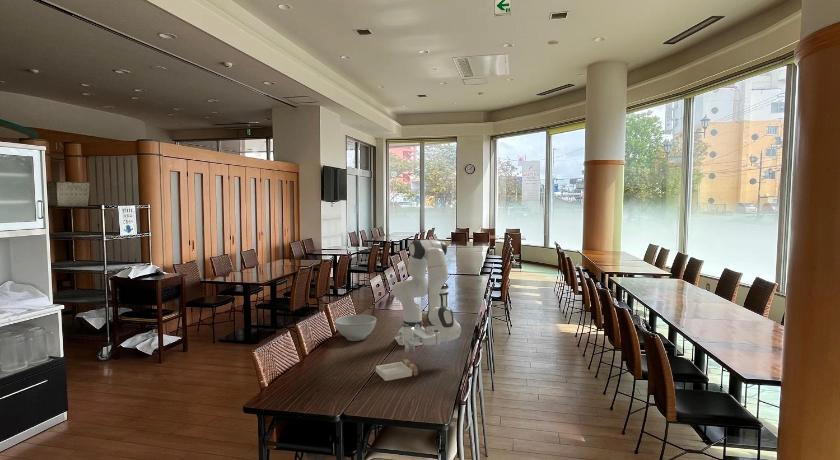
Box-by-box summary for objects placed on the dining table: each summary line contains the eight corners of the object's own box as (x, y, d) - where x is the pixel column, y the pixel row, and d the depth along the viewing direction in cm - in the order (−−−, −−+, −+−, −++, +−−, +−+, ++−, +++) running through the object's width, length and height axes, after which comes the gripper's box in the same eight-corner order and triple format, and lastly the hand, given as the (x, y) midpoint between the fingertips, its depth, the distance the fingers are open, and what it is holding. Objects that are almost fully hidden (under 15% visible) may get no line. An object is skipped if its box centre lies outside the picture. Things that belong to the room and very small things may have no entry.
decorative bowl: (382, 333, 307) (382, 315, 307) (367, 345, 282) (367, 325, 281) (345, 331, 315) (345, 313, 314) (327, 343, 289) (327, 323, 288)
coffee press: (425, 320, 338) (424, 280, 336) (440, 316, 349) (439, 277, 347) (442, 324, 326) (441, 282, 324) (457, 320, 337) (456, 279, 335)
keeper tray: (375, 371, 236) (375, 366, 236) (401, 367, 242) (401, 361, 242) (385, 381, 224) (385, 375, 223) (412, 375, 229) (411, 370, 229)
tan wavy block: (403, 366, 242) (402, 359, 242) (406, 366, 243) (406, 358, 243) (413, 375, 230) (413, 367, 230) (417, 374, 231) (417, 367, 230)
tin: (409, 327, 321) (409, 315, 320) (408, 326, 324) (408, 314, 323) (430, 325, 325) (429, 313, 324) (428, 324, 328) (428, 312, 327)
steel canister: (403, 350, 237) (402, 327, 236) (412, 348, 239) (411, 325, 239) (407, 353, 233) (406, 329, 232) (416, 351, 235) (415, 328, 234)
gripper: (423, 324, 250) (399, 327, 244) (441, 333, 232) (416, 337, 226) (423, 335, 251) (400, 339, 245) (441, 345, 232) (416, 350, 226)
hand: (407, 338), depth 235 cm, fingers closed on steel canister, 5 cm apart
